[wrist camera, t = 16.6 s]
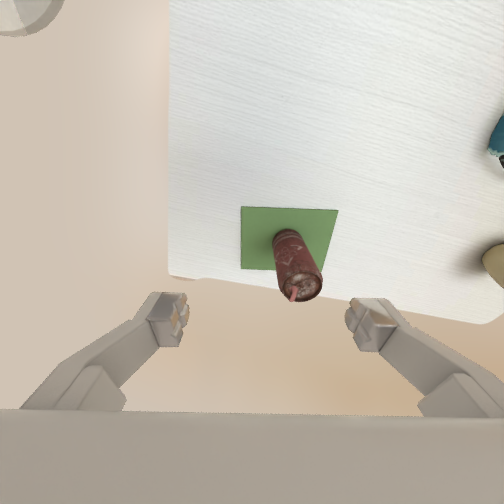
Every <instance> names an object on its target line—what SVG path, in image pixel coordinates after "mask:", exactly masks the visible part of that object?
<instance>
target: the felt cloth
mask: <svg viewBox="0 0 504 504" xmlns="http://www.w3.org/2000/svg"><path fill="white" fill-rule="evenodd" d="M337 214H338V210H320V209H294V208H267V207H241V269H257V270H276V266H275V260H274V254H273V248H272V241H273V238H274V236H275V235H276V234H277V233H278V232H280V231H282V230H285V229H292V230H295V231H297V232H299V234H300V235H301V236H302V238H303V240H304V242H305V244H306V246H307V248H308V250H309V251H310V253H311V255H312V257H313V259H314V261H315V263H316V265H317V267H318V269H319V271H320V272H322V268H323V265H324V261H325V257H326V254H327V250H328V247H329V243H330V240H331V236H332V232H333V229H334V225H335V222H336V218H337Z"/></svg>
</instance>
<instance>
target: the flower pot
mask: <svg viewBox="0 0 504 504" xmlns="http://www.w3.org/2000/svg"><path fill="white" fill-rule="evenodd" d="M482 262H483V265H484V267H485V269H486V270H487V272H488V273H489V275H490V276H491V277H492V278H493V279H494V280H495V281H496V282H497V283H498V284H499V285H500V286H501V287H502V288H504V244H499V245H496V246H494V247H492V248H491V249H489V250H488V251H487V252H486V253H485V254H484V255H483V257H482Z"/></svg>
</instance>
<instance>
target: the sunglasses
mask: <svg viewBox="0 0 504 504" xmlns="http://www.w3.org/2000/svg"><path fill="white" fill-rule="evenodd" d="M487 149H488V150H489V152H490V153H491V155H496V157H499V160H500V163H501V165H502V167H503V168H504V114H503V115H502V117H501V119H500V121H499V123H498V124H497V126H496V128H495V130H494V132H493V134H492V136H491V140H490V144H489V147H488V148H487Z"/></svg>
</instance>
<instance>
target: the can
mask: <svg viewBox="0 0 504 504" xmlns="http://www.w3.org/2000/svg"><path fill="white" fill-rule="evenodd" d="M272 248H273V254H274V260H275V266H276V272H277V279H278V285H279V288H280V291H281V292H282V293H283V294H284V296H285V297H287V298H288V300H289V301H290V302H293V301H295V302H305V301H308V300H311V299H313V298H315V297H316V296H317V295H318V294H319V293H320V291H321V289H322V282H323V278H322V275H321V273H320V271H319V269H318V267H317V265H316V263H315V261H314V259H313V257H312V255H311V253H310V251H309V250H308V248H307V246H306V244H305V242H304V240H303V238H302V236H301V235H300V234H299V232H297V231H295V230H292V229H285V230H282V231H280V232H278V233H277V234H276V235H275V236H274V238H273V241H272Z"/></svg>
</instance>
